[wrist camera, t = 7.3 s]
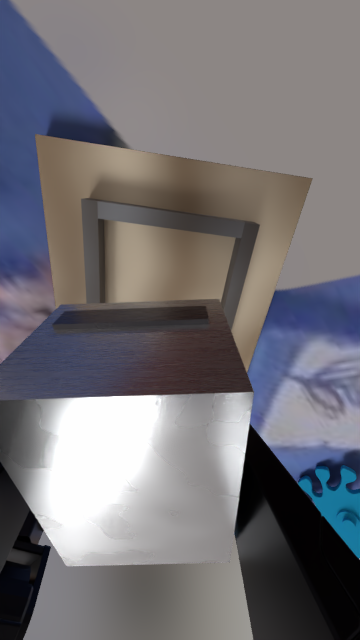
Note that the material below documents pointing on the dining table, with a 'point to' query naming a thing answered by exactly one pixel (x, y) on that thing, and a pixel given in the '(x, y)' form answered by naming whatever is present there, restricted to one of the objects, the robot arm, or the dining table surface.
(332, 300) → the dining table surface
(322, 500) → the gear
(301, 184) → the dock
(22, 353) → the block
